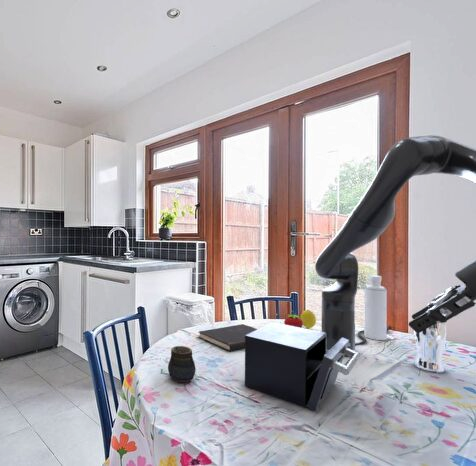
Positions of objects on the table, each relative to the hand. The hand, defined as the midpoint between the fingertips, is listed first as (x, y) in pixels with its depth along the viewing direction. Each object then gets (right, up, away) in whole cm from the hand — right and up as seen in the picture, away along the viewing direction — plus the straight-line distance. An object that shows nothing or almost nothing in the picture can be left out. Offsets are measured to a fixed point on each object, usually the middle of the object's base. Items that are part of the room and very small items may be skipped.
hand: (414, 324), depth 65 cm
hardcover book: (-18, -21, +52) cm, 59 cm away
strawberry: (+5, -21, +55) cm, 60 cm away
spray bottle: (+36, -21, +56) cm, 70 cm away
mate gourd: (-44, -21, +19) cm, 53 cm away
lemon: (+16, -21, +66) cm, 71 cm away
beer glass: (+30, -21, +28) cm, 46 cm away
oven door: (-11, -21, +11) cm, 26 cm away
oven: (-17, -21, +17) cm, 32 cm away
